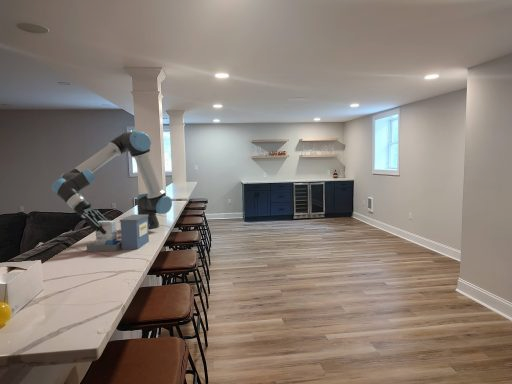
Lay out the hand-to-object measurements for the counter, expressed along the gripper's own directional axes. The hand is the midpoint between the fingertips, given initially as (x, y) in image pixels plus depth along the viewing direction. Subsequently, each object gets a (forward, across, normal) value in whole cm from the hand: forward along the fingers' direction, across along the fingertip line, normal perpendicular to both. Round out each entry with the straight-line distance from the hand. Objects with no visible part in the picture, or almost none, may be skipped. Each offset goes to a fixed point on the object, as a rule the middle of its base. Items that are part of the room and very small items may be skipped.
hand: (113, 236), depth 161 cm
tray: (+2, 0, +7) cm, 7 cm away
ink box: (0, 0, +6) cm, 6 cm away
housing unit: (+11, +6, -2) cm, 12 cm away
